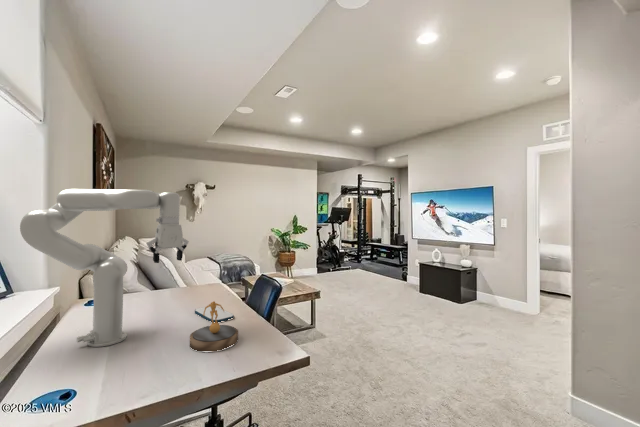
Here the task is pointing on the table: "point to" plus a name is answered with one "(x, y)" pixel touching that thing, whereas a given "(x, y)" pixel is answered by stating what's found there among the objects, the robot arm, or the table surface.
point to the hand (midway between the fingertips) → (168, 261)
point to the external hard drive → (221, 314)
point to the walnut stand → (213, 338)
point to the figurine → (214, 326)
